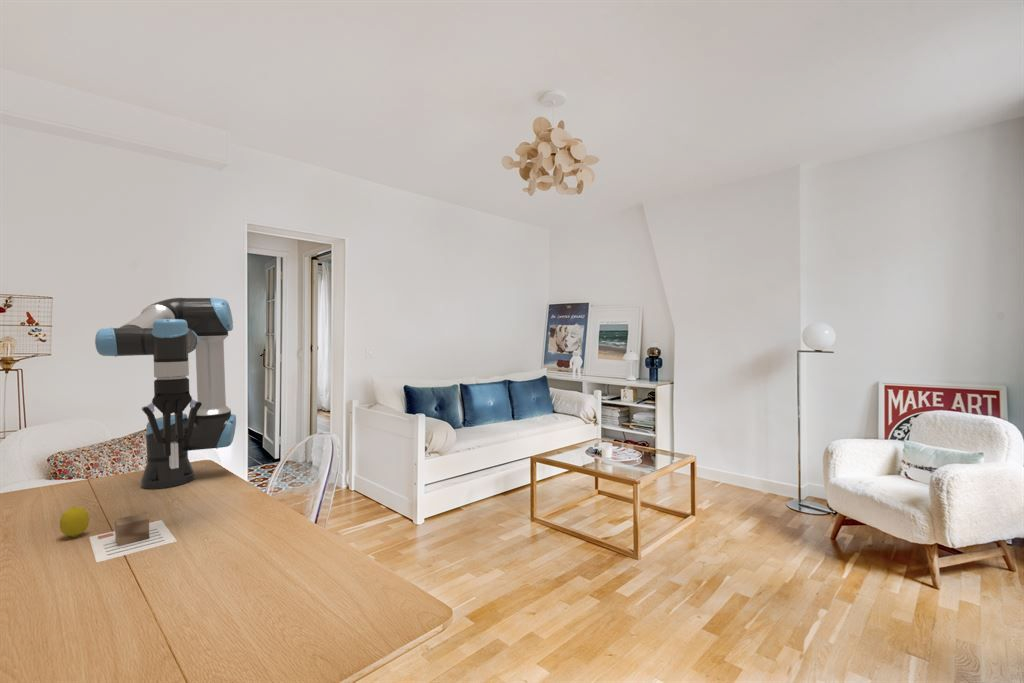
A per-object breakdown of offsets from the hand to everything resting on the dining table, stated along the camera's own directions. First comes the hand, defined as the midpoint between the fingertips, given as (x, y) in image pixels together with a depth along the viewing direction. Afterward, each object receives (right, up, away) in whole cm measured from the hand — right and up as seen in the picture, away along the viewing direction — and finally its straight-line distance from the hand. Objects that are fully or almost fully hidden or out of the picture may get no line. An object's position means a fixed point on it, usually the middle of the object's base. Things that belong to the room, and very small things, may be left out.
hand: (174, 467), depth 125 cm
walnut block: (-6, -16, -6) cm, 18 cm away
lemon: (-22, -17, -4) cm, 28 cm away
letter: (-6, -17, -6) cm, 19 cm away
